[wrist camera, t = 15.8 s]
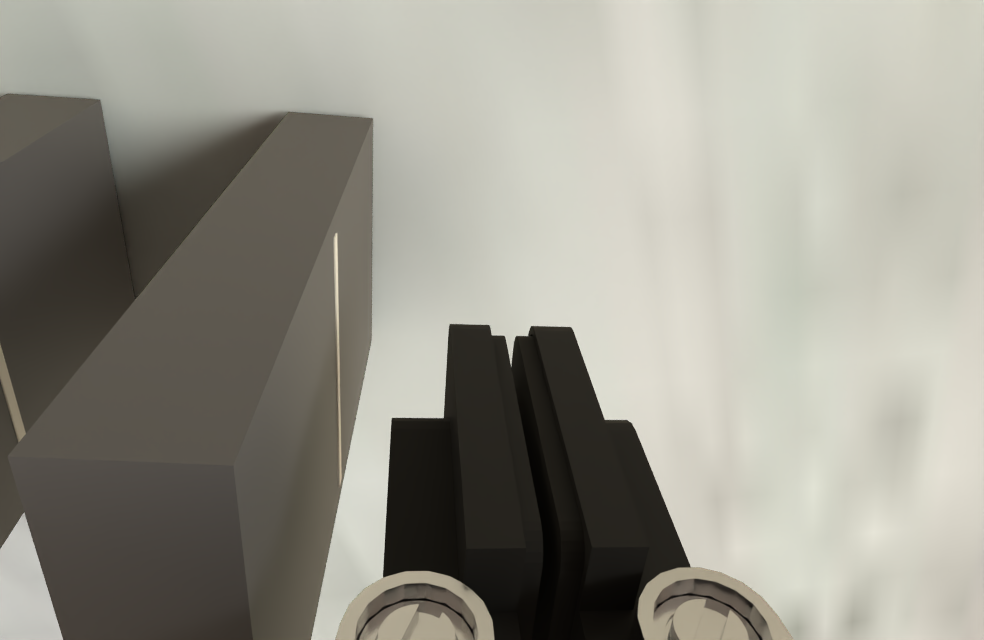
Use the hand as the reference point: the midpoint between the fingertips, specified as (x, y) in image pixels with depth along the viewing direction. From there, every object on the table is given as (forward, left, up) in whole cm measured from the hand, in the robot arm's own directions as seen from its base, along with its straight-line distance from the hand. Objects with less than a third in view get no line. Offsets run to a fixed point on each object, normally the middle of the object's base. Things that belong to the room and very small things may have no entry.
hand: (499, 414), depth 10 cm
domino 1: (0, -3, -6) cm, 7 cm away
